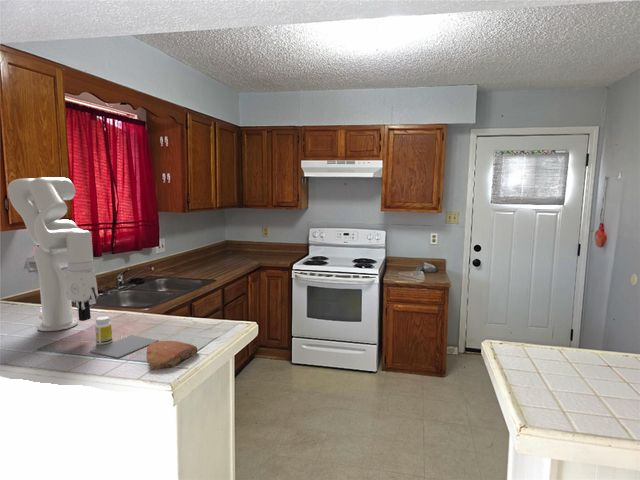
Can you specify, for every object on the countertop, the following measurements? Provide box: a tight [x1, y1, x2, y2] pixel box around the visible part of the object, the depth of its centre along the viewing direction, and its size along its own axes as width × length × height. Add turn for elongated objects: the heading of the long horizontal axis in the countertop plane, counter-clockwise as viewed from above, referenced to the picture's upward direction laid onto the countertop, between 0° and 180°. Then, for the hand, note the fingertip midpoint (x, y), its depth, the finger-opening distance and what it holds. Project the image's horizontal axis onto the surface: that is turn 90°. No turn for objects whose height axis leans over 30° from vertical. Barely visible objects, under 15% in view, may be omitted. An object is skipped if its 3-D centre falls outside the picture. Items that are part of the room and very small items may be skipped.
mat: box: [89, 334, 159, 359], centre depth 136 cm, size 12×16×1 cm
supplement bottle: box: [94, 316, 113, 346], centre depth 139 cm, size 5×5×8 cm
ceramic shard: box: [146, 340, 198, 370], centre depth 125 cm, size 15×6×15 cm
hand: (84, 319), depth 142 cm, fingers closed
